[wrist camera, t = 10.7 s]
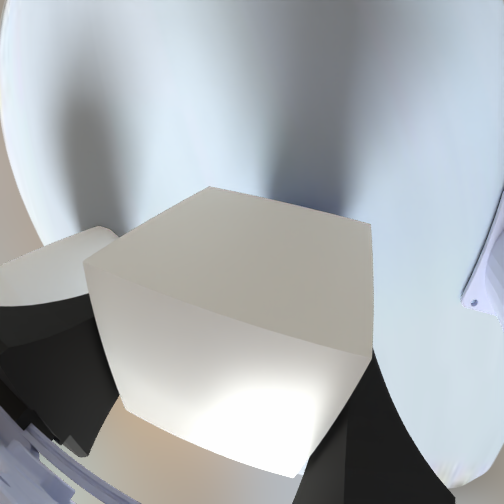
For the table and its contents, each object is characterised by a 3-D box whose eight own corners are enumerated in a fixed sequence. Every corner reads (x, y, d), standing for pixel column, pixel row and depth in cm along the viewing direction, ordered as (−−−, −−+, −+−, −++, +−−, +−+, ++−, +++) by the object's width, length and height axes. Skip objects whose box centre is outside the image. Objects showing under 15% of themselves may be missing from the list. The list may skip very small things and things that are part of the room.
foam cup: (75, 193, 23) (-48, 258, 12) (155, 236, 22) (16, 342, 11) (77, 274, 28) (-14, 344, 17) (144, 320, 27) (53, 416, 16)
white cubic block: (370, 224, 10) (371, 358, 4) (328, 349, 13) (293, 478, 7) (209, 186, 11) (82, 261, 6) (203, 310, 14) (125, 409, 9)
